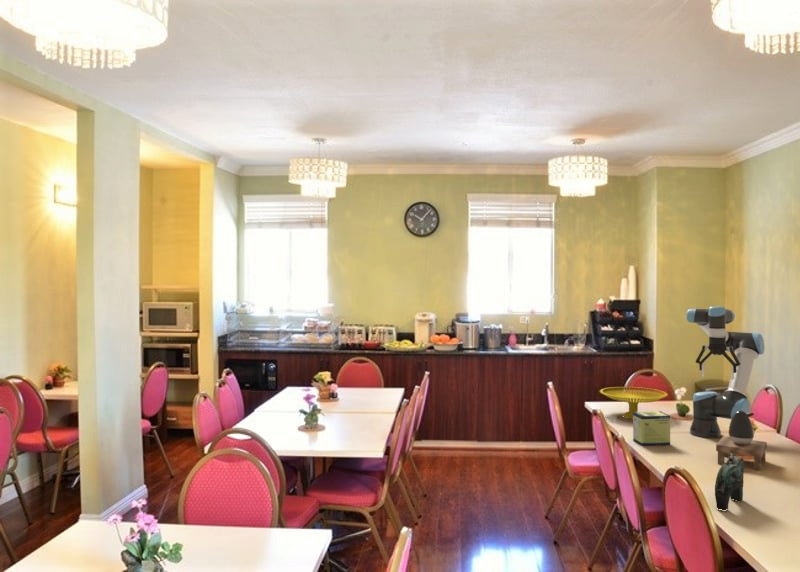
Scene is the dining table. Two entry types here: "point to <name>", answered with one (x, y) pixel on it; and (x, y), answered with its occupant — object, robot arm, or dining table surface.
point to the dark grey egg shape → (741, 428)
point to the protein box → (651, 428)
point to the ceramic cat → (729, 481)
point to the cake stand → (633, 397)
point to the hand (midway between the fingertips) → (717, 378)
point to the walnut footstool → (742, 450)
